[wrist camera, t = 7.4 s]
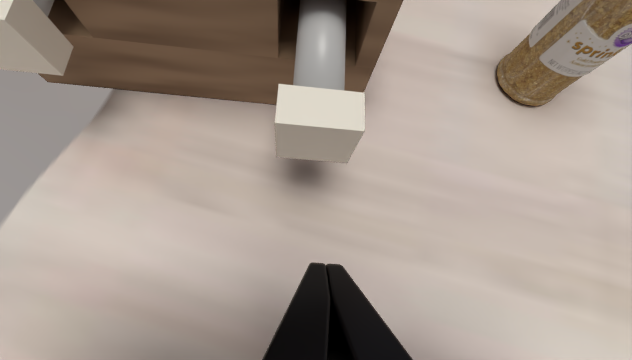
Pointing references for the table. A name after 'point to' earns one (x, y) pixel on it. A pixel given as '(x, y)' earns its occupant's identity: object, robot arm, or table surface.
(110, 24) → the button box
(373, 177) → the table surface
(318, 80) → the button
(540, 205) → the table surface
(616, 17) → the sprinkles bottle
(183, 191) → the table surface
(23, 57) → the button
